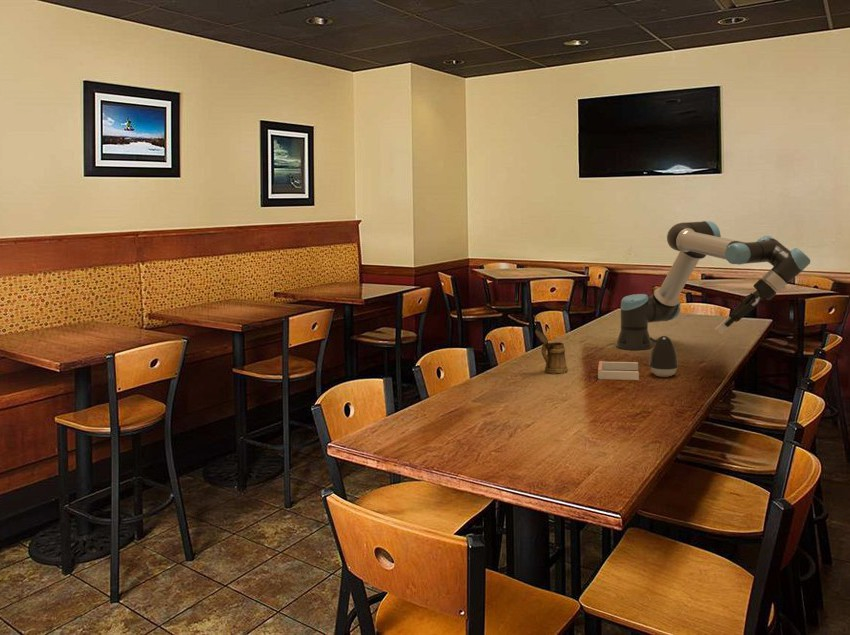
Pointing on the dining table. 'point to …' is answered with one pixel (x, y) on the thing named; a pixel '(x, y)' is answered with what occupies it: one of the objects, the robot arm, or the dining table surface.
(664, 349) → the black tall rounded piece
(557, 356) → the wooden mug
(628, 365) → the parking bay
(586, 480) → the dining table surface
